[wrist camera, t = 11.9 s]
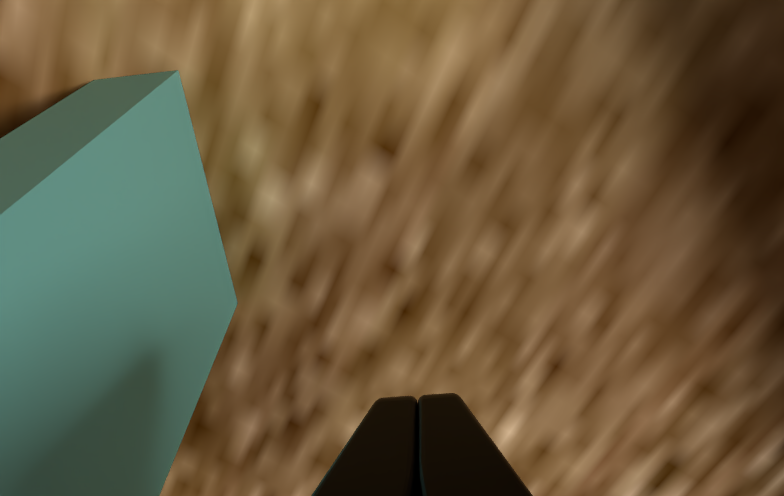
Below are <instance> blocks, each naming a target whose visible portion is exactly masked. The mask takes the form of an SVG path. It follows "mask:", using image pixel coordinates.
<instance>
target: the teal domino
mask: <svg viewBox="0 0 784 496" xmlns="http://www.w3.org/2000/svg"><path fill="white" fill-rule="evenodd" d="M237 304H238V303H237V299H236V295H235V291H234V287H233V283H232V279H231V275H230V271H229V268H228V264H227V260H226V256H225V252H224V248H223V244H222V240H221V236H220V232H219V228H218V224H217V220H216V217H215V213H214V209H213V205H212V201H211V197H210V193H209V189H208V185H207V181H206V177H205V173H204V169H203V166H202V162H201V158H200V154H199V150H198V146H197V142H196V138H195V134H194V130H193V126H192V122H191V118H190V115H189V111H188V107H187V103H186V99H185V95H184V91H183V87H182V83H181V79H180V75H179V71H178V70H176V71H167V72H159V73H150V74H142V75H133V76H125V77H116V78H107V79H99V80H93V81H91V82H90V83H88V84H87V85H85V86H83V87H82V88H80V89H79V90H77V91H75V92H74V93H72V94H71V95H69V96H67V97H66V98H64V99H63V100H61V101H59V102H58V103H56V104H55V105H53V106H52V107H50V108H48V109H47V110H45V111H44V112H42V113H40V114H39V115H37V116H36V117H34V118H32V119H31V120H29V121H28V122H26V123H24V124H23V125H21V126H20V127H18V128H16V129H15V130H13V131H12V132H10V133H8V134H7V135H5V136H4V137H2V138H0V496H159V495H160V493H161V490H162V488H163V485H164V483H165V480H166V478H167V475H168V473H169V471H170V468H171V466H172V463H173V461H174V458H175V456H176V453H177V451H178V448H179V446H180V444H181V441H182V439H183V436H184V434H185V431H186V429H187V426H188V424H189V421H190V419H191V417H192V414H193V412H194V409H195V407H196V404H197V402H198V399H199V397H200V394H201V392H202V390H203V387H204V385H205V382H206V380H207V377H208V375H209V372H210V370H211V368H212V365H213V363H214V360H215V358H216V355H217V353H218V350H219V348H220V345H221V343H222V341H223V338H224V336H225V333H226V331H227V328H228V326H229V323H230V321H231V318H232V316H233V314H234V311H235V309H236V306H237Z"/></svg>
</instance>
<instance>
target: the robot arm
mask: <svg viewBox="0 0 784 496" xmlns="http://www.w3.org/2000/svg"><path fill="white" fill-rule="evenodd" d="M312 496H533V495H532V494H531V493H530V491H529V490H528V489H527V487H526V486H525V485H524V483H523V482H522V480H521V479H520V478H519V476H518V475H517V474H516V472H515V471H514V469H513V468H512V467H511V465H510V464H509V463H508V461H507V460H506V459H505V457H504V456H503V454H502V453H501V452H500V450H499V449H498V448H497V446H496V445H495V444H494V442H493V441H492V439H491V438H490V437H489V435H488V434H487V433H486V431H485V430H484V429H483V427H482V426H481V424H480V423H479V422H478V420H477V419H476V418H475V416H474V415H473V414H472V412H471V411H470V409H469V408H468V407H467V405H466V404H465V403H464V401H463V400H462V399H461V397H460V396H459V395H457V394H455V393H446V394H431V395H423V396H421V397H420V398H419V400H418V403H417V400H416V399H415V398H414V397H413V396H402V397H387V398H380V399H378V400H377V401H375V403H374V404H373V405H372V407H371V408H370V410H369V411H368V413H367V414H366V416H365V417H364V419H363V420H362V422H361V423H360V425H359V426H358V428H357V429H356V431H355V432H354V434H353V435H352V437H351V438H350V439H349V441H348V442H347V444H346V445H345V447H344V448H343V450H342V451H341V453H340V454H339V456H338V457H337V459H336V460H335V462H334V463H333V465H332V466H331V468H330V469H329V471H328V472H327V473H326V475H325V476H324V478H323V479H322V481H321V482H320V484H319V485H318V487H317V488H316V490H315V491H314V493H313V494H312Z"/></svg>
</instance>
